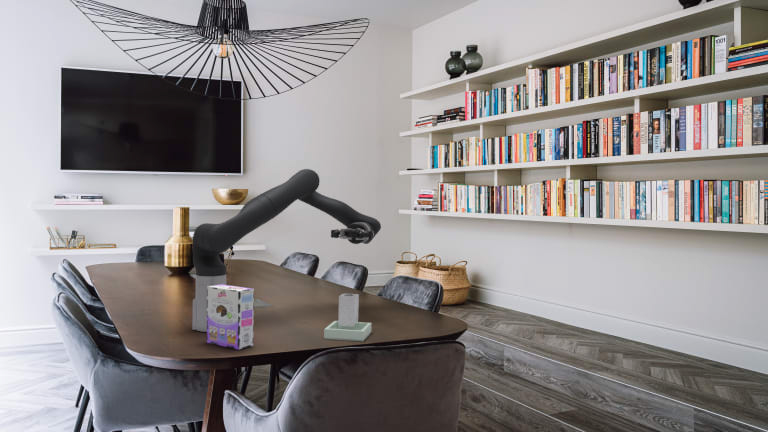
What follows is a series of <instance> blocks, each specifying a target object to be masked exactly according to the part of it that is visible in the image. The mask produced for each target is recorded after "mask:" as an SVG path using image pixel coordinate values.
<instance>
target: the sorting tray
mask: <svg viewBox="0 0 768 432" xmlns="http://www.w3.org/2000/svg"><path fill="white" fill-rule="evenodd" d="M323 334H324V335H323V339H324V340H334V341H349V342H350V341H351V342H362V343H363V342H364V341H365V340H366V339H367V338H369V336H370V335H371V334H372V322H363V321H362V322H361V321H358V330H344V329H338V320H334V321H332V322H331V323H330V324H329V325H327V326H326V327H325V328H324V330H323Z"/></svg>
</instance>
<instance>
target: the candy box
mask: <svg viewBox="0 0 768 432" xmlns="http://www.w3.org/2000/svg"><path fill="white" fill-rule="evenodd" d="M254 310H255V288H250V287H242V286H237V285H236V286H235V285H228V284H226V285H223V284H221V285H214V286H207V332H206V343H207V344H212V345H214V346H215V345H216V346H220V347H225V348H229V349H234V350H238V351H239V350H243V349H246V348H251V347H253V346H254V325H255V324H254V321H255V319H254V318H255V317H254V313H255V311H254Z"/></svg>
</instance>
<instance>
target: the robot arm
mask: <svg viewBox="0 0 768 432" xmlns="http://www.w3.org/2000/svg"><path fill="white" fill-rule="evenodd" d="M320 182H321V181H320V175H318V173H317V172H316V171H315V170H312V169H310V168H305V169H301V170H298V171H297V172H296V173H294V175H292V176H291V177H289V178H288V180H287V181H285V182H283V183H281V184H279V185H277V186H274V187H272V188H270V189H269V190H266V191H264V192H263V193H260V194H258V195H257V196H255V197H253V198H251V199H250V200H249V201H246V203H245V204H244V205H243V207H241V209H240V211H239V213H237V214H236V215H234V216H232V218H229V219H228V220H225V221H223V222H219V223H207V222H206V223H201V224H200V225H198V226H197V227H196V228H195V230H194V231H193V236H192V262H193V267H194V269H195V298H193V300H192V329H191V330H193V331H198V332H205V333H207V286H214V285H221V284H223V285H227V265H226V264H224V262H223V261H222V260H221V257H220V254H221V253H225V252H226V251H228V250H229V249H230V248H232V247H233V246H234V245H235V244H236V243H237V242H239V241H241V239H243V238H244V237H246V236H247V235H248V234H250V233H252V232H253V231H255V230H257V229H258V228H260V227H261V226H263V225H264V224H267V223H269V222H270V221H271V220H272V219H274V218H276V217H277V216H279V215H280V214H281V213H282V212H284V211H285V210H286V209H288V207H289V206H291V205H292V204H293V203H294V202H295V201H297V200H298V201H301V202H303V203H304V204H308V205H309V206H311V207H314V208H315V209H316V210H317V209H318V210H319V211H321V212H323V213H324V214H327V215H329V216H330V217H332V218H333V219H335V220H336V221H338V222H339V223H341V224H342V225H344V227H346V228H340V230H339V229H338V228H337V229H331V230H330V237H331V238H332V239H333V238H334V239H338V238H339V239H341V240H347V241H348V242H349V243H351V244H353V245H359V244H361V243H362V244H365V245H368V244H370V243H371V242H372V241H373V239H374V238H375V237H376V235H377V234H378V233H379V231H381V228H382V226H381V223H380V222H381V221H379V220H378V219H376V218H374V217H372V216H370V215H365V214H363V213H361V212H359V211H357V210H356V209H354V208H352V206H350V205H348V204H347V203H345V202H344V201H341V200H339V199H335V198H331V197H329V196H326V195H324V194H322V193H319V192H318V191H317V190H318V188H319V186H320Z"/></svg>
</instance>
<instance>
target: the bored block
mask: <svg viewBox="0 0 768 432" xmlns="http://www.w3.org/2000/svg"><path fill="white" fill-rule="evenodd" d="M359 296H360V295H359V293H342V294H340V295H338V320H337V321H338V329H344V330H358V322H359V298H360V297H359Z"/></svg>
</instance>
